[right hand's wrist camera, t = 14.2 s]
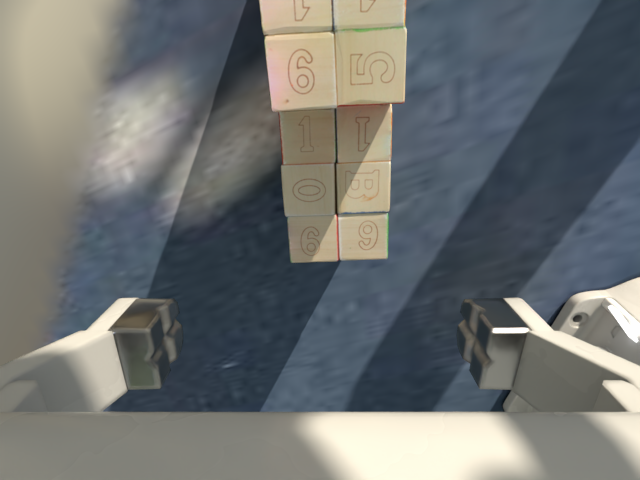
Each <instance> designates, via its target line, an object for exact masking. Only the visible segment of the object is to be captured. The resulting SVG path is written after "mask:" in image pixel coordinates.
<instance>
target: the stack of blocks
mask: <svg viewBox="0 0 640 480" xmlns="http://www.w3.org/2000/svg"><path fill="white" fill-rule="evenodd" d="M259 5H260V14H261V24H262V30H263V34H264V38H265V42H264V45H265V54H266V64H267V73H268V83H269V92H270V101H271V110H272V112H279V124H280V137H281V151H282V165H281V175H282V190H283V201H284V212H285V216H286V217H287V223H288V236H289V250H290V261H291V263H300V262H333V261H338V260H366V259H387V258H388V229H389V222H388V212H389V209H390V172H391V162H390V160H391V147H392V105H391V104H400V103H404V100H405V68H406V37H407V30H406V27H405V13H406V0H259Z"/></svg>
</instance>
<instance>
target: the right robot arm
mask: <svg viewBox="0 0 640 480" xmlns="http://www.w3.org/2000/svg"><path fill="white" fill-rule="evenodd" d="M179 313H180V311H179V307H178V302H177V301H176V300H175V299H163V298H120V299H118V300H117V301H115V302H114V303H113V304H112V305H111V306H110V307H109V308H108V309H107V310H106V311H105V312H104V313H103V314H102V315H101V316H100V317H99V318H98V319H97V320H96V321H95V322H94V323H93V324H92V325H91V326H90V327H89V328H88V329H87V330H86V331H78V332H76V333H74V334H72V335H69V336H67V337H65V338H62V339H60V340H58V341H56V342H53V343H51V344H49V345H47V346H44V347H42V348H40V349H37V350H35V351H33V352H31V353H28V354H26V355H24V356H21V357H19V358H17V359H15V360H12V361H10V362H8V363H5V364H3V365H1V366H0V480H640V277H638V278H635V279H632V280H630V281H627V282H625V283H622V284H620V285H618V286H615V287H612V288H610V289H606V290H597V291H588V292H582V293H578V294H575V295H573V296H572V297H570V298H569V299H568V300H567V302H566V303H565V305H564V307H563V308H562V310H561V311H560V313H559V315H558V316H557V318H556V319H555V321H554V323H553V324H552V326H551V327H550V326H549V325H548V324H547V323H546V322H545V321H544V320H543V319H542V318H541V317H540V316H539V315H538V314H537V313H536V312H535V311H534V310H533V309H532V308H531V307H530V306H529V305H528V304H527V303H526V302H525V301H524V300H523V299H520V298H492V299H464V301H463V303H462V306H461V311H460V313H461V314H462V316H463V317H464V320H463V321H462V322H461V323H460V324H459V325H458V330H457V345H458V349H459V352H460V354H461V356H462V358H463V359H464V360H466V361H467V362H469V363H470V370H469V371H470V373H471V374H472V376H473V378H474V380H475V382H476V383H477V385H478V387H479V389H506V390H511V392H510V393H509V395H508V396H507V398H506V400H505V402H504V404H503V409H504V411H505V412H102V411H103V410H104V409H106V408H107V407H108V406H109V405H111V404H112V403H113V402H115V401H116V400H117V399H118V398H120V397H121V396H122V395H123V394H125V393H126V392H127V390H134V389H161V387H162V385H163V383H164V382H165V380H166V378H167V376H168V374H169V373H170V371H171V369H170V363H171V362H173V361H174V360H176V359H177V358H178V356H179V354H180V352H181V348H182V344H183V329H182V325H181V324H180V323H179V322H178V321H177V320H176V317H177V316H178V314H179ZM575 316H576V317H575Z"/></svg>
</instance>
